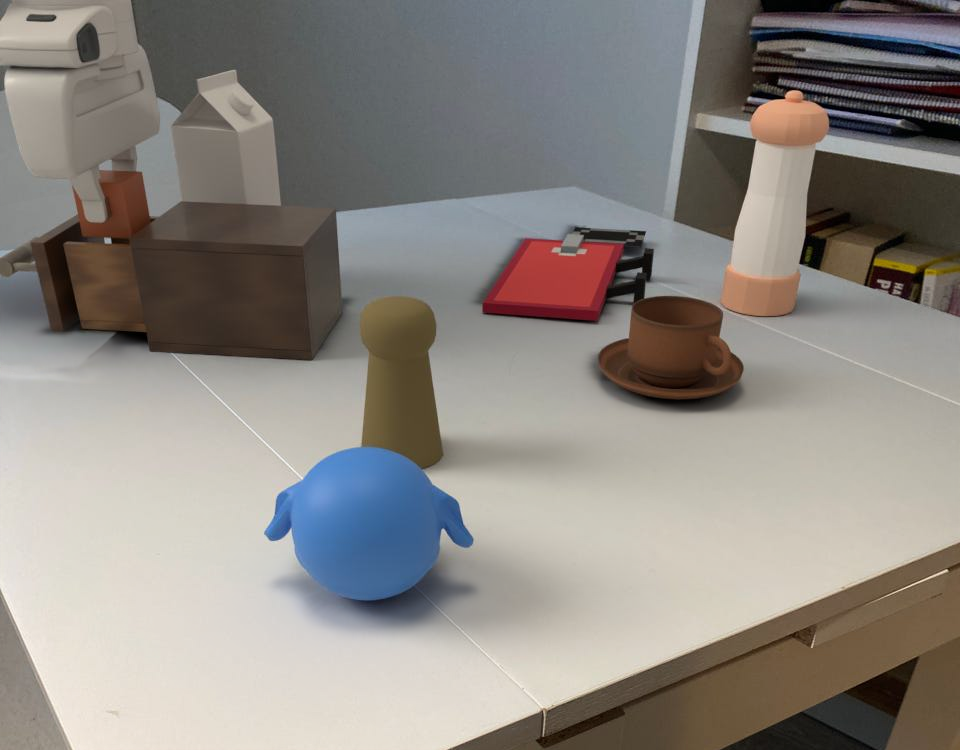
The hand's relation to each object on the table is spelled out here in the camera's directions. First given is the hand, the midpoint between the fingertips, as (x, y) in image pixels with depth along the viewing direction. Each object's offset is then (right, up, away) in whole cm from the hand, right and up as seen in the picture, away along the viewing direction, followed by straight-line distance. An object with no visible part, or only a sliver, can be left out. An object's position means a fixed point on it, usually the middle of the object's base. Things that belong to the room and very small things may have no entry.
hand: (113, 212), depth 88 cm
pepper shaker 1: (+26, -24, -14) cm, 38 cm away
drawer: (-1, -7, +5) cm, 9 cm away
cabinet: (+11, -9, +5) cm, 15 cm away
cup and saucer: (+48, -16, -3) cm, 51 cm away
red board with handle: (+43, +2, +21) cm, 48 cm away
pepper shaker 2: (+60, -4, +14) cm, 62 cm away
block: (0, -1, +1) cm, 2 cm away
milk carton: (+7, 0, +17) cm, 18 cm away
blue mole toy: (+26, -33, -27) cm, 50 cm away
